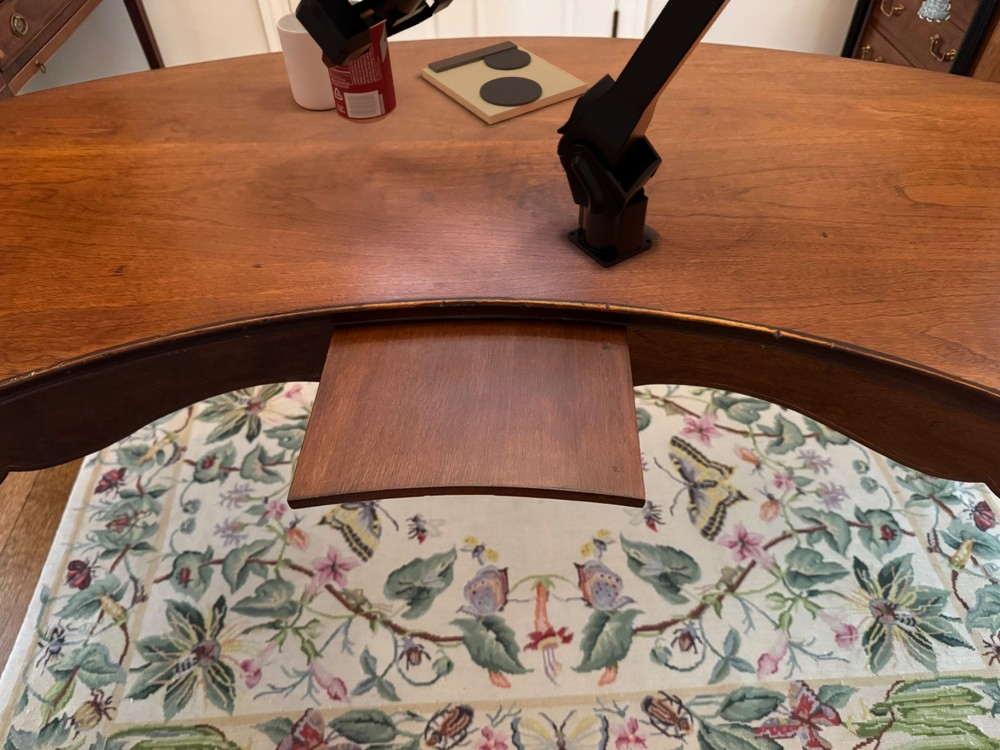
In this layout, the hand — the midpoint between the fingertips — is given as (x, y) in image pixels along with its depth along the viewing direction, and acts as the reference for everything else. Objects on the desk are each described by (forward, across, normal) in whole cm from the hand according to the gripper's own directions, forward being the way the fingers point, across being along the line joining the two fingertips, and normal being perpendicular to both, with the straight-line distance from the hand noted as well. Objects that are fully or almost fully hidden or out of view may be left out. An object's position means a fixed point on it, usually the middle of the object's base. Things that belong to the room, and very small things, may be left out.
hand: (347, 52), depth 77 cm
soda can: (+4, 0, +6) cm, 7 cm away
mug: (+20, -12, -1) cm, 23 cm away
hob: (+8, -27, +11) cm, 30 cm away
